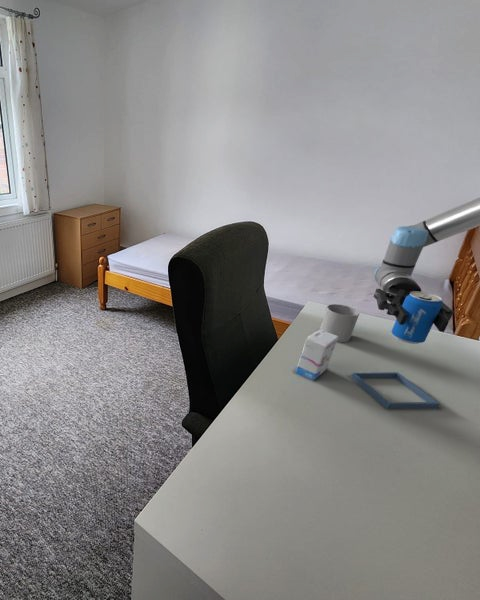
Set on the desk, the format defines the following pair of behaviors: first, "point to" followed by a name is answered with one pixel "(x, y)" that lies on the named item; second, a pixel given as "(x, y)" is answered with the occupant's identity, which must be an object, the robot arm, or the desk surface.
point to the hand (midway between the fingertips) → (423, 323)
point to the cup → (340, 321)
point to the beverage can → (417, 317)
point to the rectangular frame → (401, 405)
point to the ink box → (316, 354)
